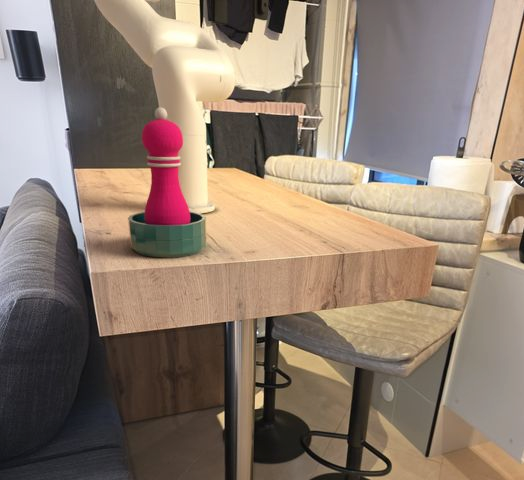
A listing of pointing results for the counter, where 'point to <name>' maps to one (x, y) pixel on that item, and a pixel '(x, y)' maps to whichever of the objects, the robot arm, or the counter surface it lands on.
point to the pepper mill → (164, 172)
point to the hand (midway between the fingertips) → (238, 21)
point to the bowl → (167, 237)
